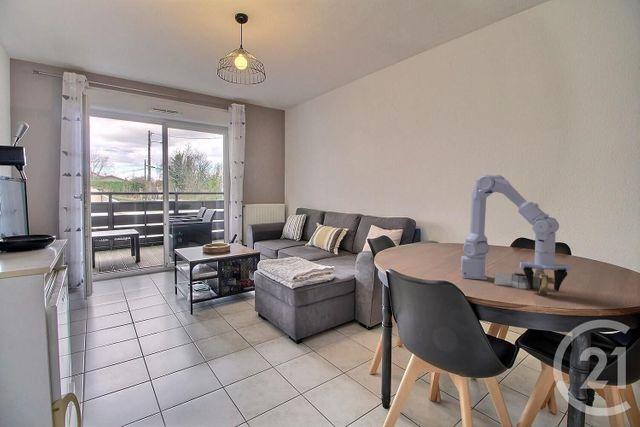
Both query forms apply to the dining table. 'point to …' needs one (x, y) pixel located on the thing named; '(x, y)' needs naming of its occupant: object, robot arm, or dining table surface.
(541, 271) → the mineral specimen
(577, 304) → the dining table surface
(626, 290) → the dining table surface
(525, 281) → the hinge
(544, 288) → the hinge pin
